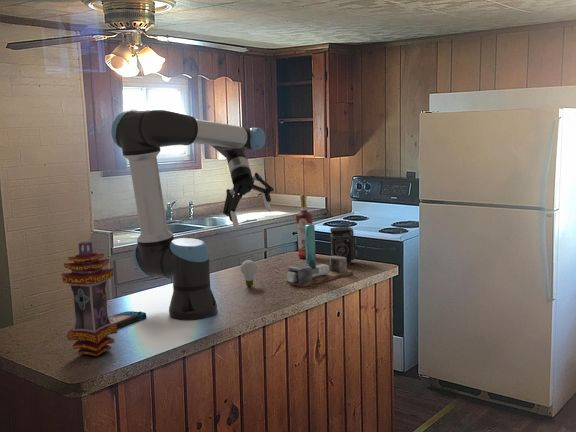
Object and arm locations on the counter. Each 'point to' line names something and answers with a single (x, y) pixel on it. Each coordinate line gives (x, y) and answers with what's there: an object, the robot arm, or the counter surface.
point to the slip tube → (309, 256)
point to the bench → (336, 270)
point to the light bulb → (248, 271)
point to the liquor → (302, 226)
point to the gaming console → (126, 318)
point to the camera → (343, 243)
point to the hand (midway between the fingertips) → (252, 218)
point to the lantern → (89, 301)
